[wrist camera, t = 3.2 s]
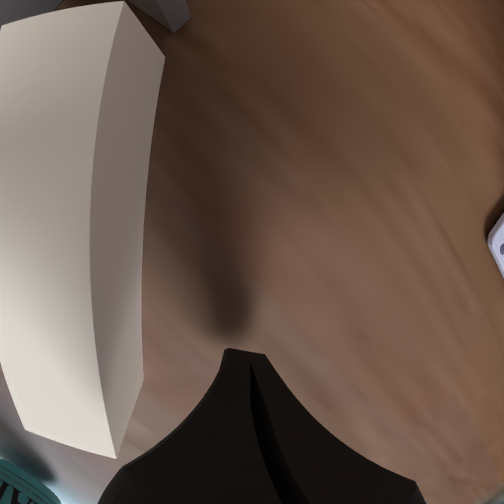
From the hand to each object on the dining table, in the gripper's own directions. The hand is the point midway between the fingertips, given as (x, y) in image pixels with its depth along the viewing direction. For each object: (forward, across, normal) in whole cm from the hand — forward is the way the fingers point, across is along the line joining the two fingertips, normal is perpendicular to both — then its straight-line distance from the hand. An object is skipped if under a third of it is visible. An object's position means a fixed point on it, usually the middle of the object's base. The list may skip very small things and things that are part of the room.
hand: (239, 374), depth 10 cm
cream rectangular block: (+2, +6, -3) cm, 7 cm away
